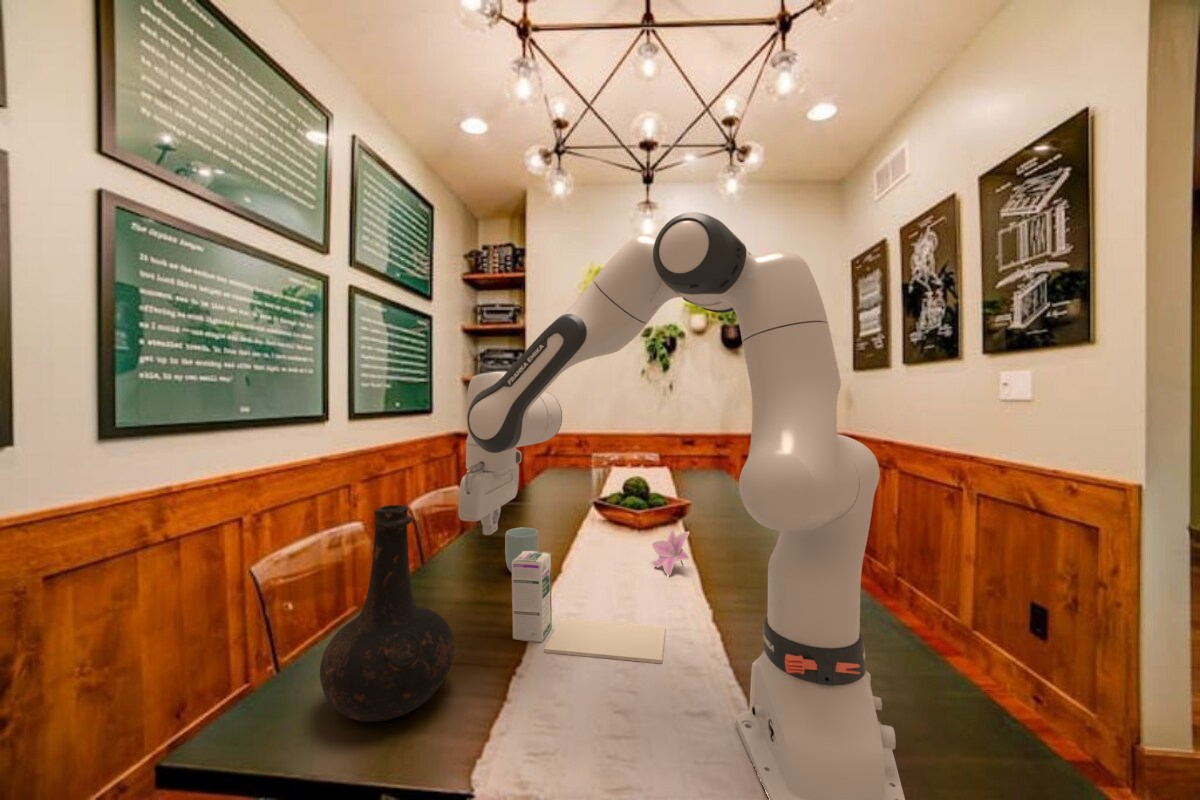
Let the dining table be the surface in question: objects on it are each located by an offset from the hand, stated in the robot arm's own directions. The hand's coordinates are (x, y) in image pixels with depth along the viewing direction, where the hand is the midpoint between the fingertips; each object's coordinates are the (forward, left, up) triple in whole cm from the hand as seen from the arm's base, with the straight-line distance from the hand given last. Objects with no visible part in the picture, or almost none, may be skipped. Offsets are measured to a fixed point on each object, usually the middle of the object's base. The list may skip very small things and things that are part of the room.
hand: (490, 532), depth 96 cm
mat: (0, -22, -18) cm, 29 cm away
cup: (+30, +4, -18) cm, 35 cm away
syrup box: (0, -8, -18) cm, 20 cm away
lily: (+38, -32, -19) cm, 53 cm away
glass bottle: (-23, +6, -18) cm, 30 cm away
